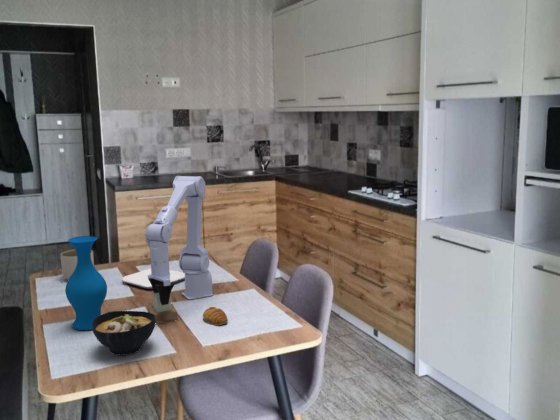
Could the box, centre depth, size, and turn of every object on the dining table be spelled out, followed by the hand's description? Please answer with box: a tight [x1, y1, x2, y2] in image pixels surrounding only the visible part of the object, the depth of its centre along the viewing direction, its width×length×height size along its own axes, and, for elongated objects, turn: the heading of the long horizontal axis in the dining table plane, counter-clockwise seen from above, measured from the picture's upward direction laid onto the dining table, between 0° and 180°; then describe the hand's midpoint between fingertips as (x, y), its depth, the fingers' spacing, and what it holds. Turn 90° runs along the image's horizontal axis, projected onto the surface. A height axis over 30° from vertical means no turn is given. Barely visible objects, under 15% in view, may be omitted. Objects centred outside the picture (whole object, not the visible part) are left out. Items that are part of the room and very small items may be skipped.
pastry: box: [202, 306, 229, 327], centre depth 174 cm, size 9×7×4 cm
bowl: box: [92, 310, 156, 356], centre depth 153 cm, size 17×17×10 cm
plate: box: [121, 268, 185, 290], centre depth 217 cm, size 21×21×2 cm
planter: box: [59, 248, 95, 281], centre depth 220 cm, size 12×12×11 cm
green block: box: [152, 292, 172, 313], centre depth 176 cm, size 4×4×5 cm
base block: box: [147, 303, 178, 324], centre depth 177 cm, size 8×8×4 cm
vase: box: [64, 235, 108, 331], centre depth 170 cm, size 12×13×28 cm
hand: (161, 301), depth 176 cm, fingers open, 6 cm apart
